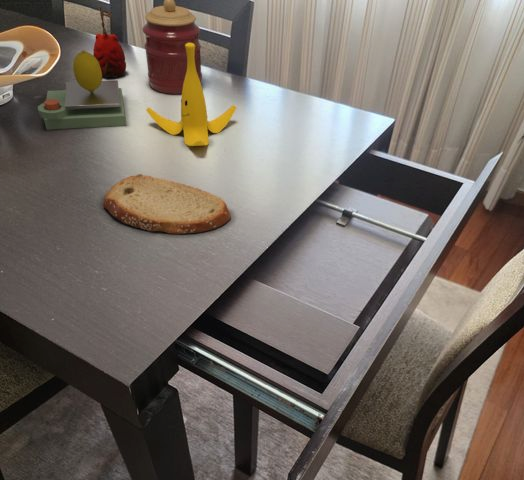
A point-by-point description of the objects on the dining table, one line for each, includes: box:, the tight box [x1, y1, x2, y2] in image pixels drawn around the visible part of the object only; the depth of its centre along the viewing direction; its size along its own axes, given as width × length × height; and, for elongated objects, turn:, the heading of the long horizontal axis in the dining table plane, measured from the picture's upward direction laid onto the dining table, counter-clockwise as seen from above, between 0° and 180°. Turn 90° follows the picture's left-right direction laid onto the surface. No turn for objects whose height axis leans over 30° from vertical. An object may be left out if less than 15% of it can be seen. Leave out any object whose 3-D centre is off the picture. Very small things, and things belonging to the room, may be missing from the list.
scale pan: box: [65, 79, 121, 109], centre depth 104 cm, size 11×13×1 cm
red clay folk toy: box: [92, 6, 127, 79], centre depth 116 cm, size 8×7×15 cm
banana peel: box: [145, 43, 237, 147], centre depth 97 cm, size 17×19×17 cm
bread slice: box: [102, 173, 232, 235], centre depth 81 cm, size 18×18×4 cm
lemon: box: [72, 49, 103, 93], centre depth 101 cm, size 6×6×8 cm
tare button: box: [43, 99, 60, 110], centre depth 99 cm, size 3×3×1 cm
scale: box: [37, 87, 127, 131], centre depth 105 cm, size 17×15×4 cm
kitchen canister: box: [142, 0, 203, 95], centre depth 113 cm, size 13×13×18 cm
